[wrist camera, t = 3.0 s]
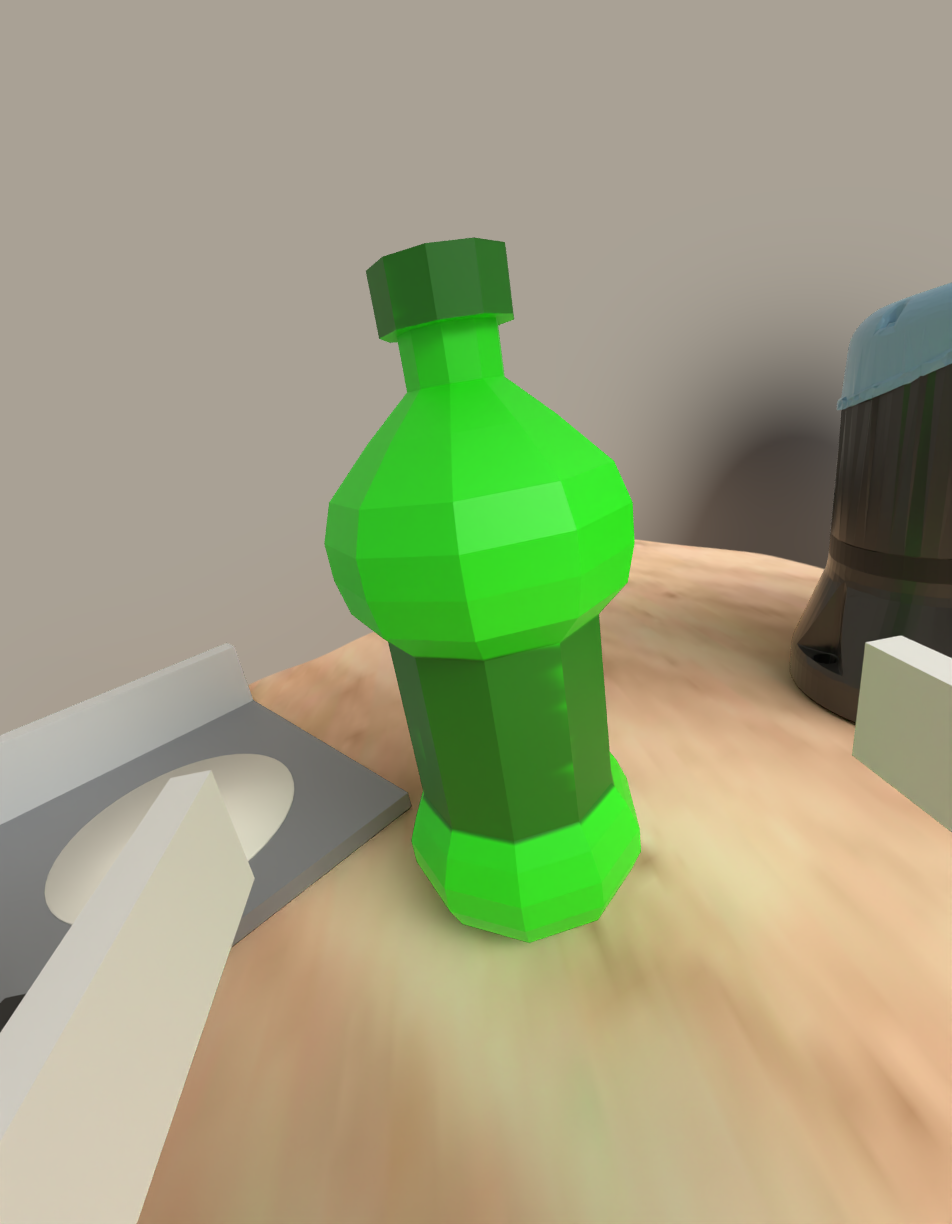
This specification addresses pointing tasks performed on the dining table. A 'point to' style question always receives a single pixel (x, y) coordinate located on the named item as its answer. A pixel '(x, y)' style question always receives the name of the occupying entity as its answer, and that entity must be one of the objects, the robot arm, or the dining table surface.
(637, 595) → the dining table surface
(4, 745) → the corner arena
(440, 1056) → the dining table surface
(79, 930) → the robot arm
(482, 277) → the plastic bottle
